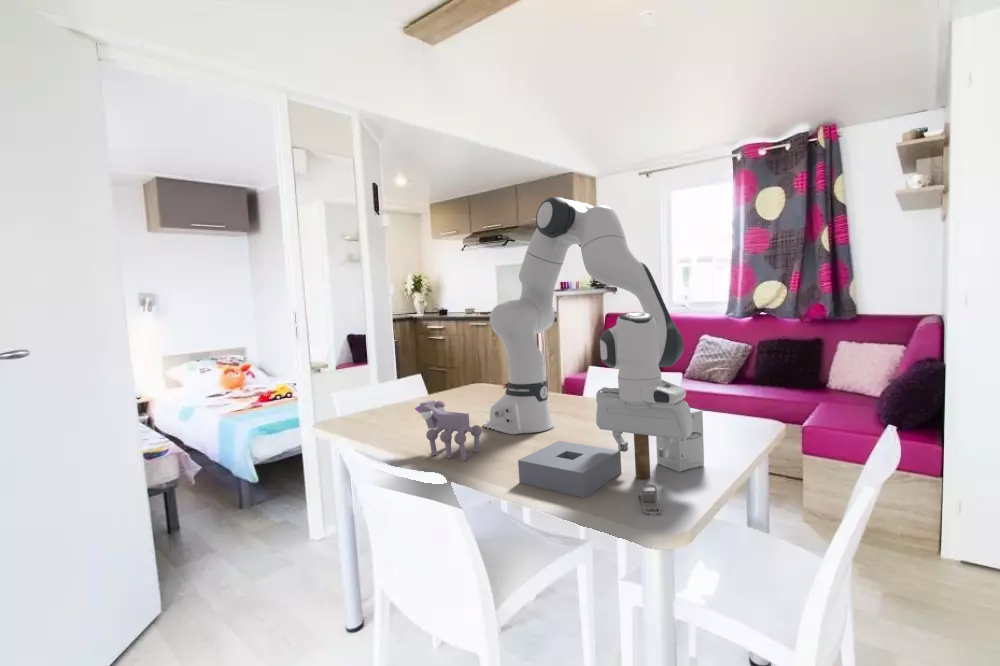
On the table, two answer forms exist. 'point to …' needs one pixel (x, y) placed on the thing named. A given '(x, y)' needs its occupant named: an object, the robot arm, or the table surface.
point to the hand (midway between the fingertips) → (643, 453)
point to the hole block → (570, 468)
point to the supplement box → (685, 447)
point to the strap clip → (649, 500)
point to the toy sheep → (447, 427)
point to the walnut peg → (642, 456)
